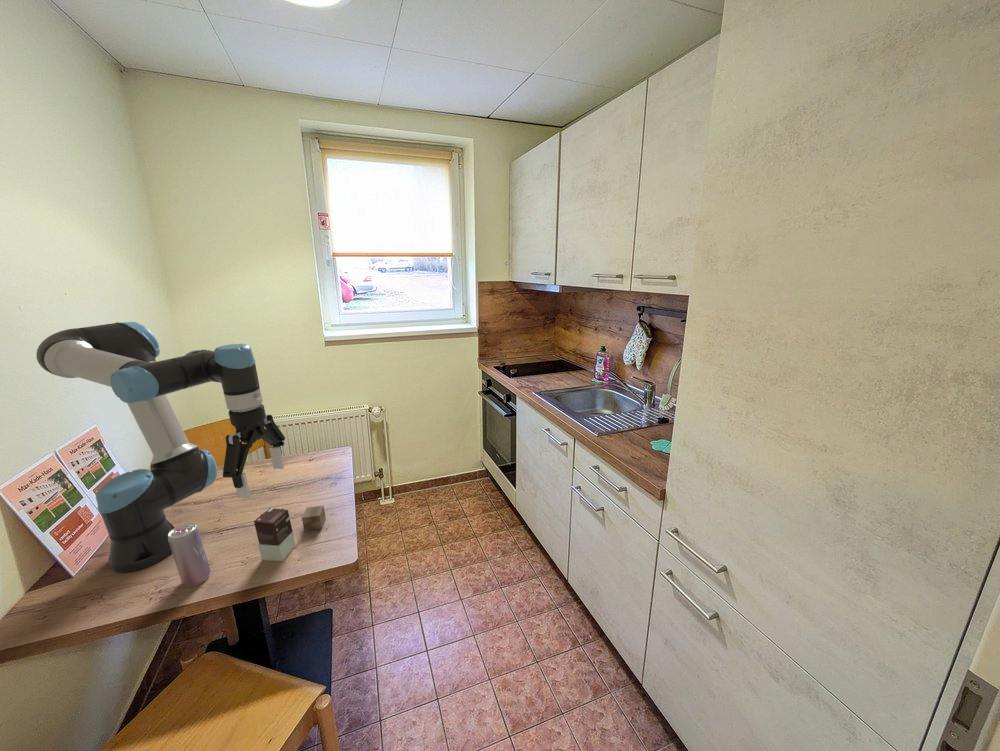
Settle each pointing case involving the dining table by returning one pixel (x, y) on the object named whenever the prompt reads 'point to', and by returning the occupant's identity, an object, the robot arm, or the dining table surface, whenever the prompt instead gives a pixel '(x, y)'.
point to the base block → (277, 549)
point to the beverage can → (189, 554)
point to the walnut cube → (313, 518)
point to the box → (273, 526)
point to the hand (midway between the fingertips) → (262, 481)
